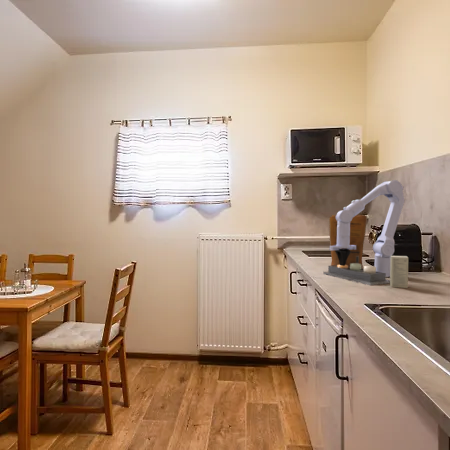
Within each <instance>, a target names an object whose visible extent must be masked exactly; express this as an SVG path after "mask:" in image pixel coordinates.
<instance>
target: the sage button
mask: <svg viewBox="0 0 450 450" xmlns="http://www.w3.org/2000/svg"><path fill="white" fill-rule="evenodd" d="M350 270H355V271H357V270H361V264H359V263H350Z"/></svg>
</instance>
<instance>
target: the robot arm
mask: <svg viewBox="0 0 450 450" xmlns="http://www.w3.org/2000/svg"><path fill="white" fill-rule="evenodd" d="M379 196H385V197H386V198H387V199H388V201H389V202H390V205H389V208H388V211H387V214H386V218H385V221H384V225H383V227H382V230H381V234H380V235H379V236H378V237H377V240H376V241H375V242H374V244H373V245H372V250H373V252H374V265H373V266H375V267H376V271H377V272H382V273H386V278H390V263H391V256H394V253H395V244H396V242H395V239H394V238H395V237H394V236H395V233H396V230H397V227H398V224H399V220H400V217H401V214H402V212H403V211H402V210H403V208H404V204H405V196H404V186H403V185H402V183H401V181H399V180H398V179H393V180H389V181H388V180H387V181H386V180H385V181H383V182H382V183H380V184H378V185H376V187H373V189H371V190H370V191H369V192H368V193H367V194H366V195H364V196H363V197H362V198H360V199H355V200H352V201H351V203H350V204H348V205H347V206H344V207H343V208H342V209H343V210H338V212H337V213H336V214H335V215H336V220H337V245H335V246H330V245H329V251H331V250H332V251H334V250H335V252H336V254H337V256H338V259H339V263H340V265H342V266H345V264H346V261H347V258H348V256H349V254H350V253H351V251H350V250H352V249H354V250H356V245H350V221H352V218H353V217H355V216H356V215H360V213H361V212H362V211H364V210H365V208H366V207H365V206H366V205H367V204H369V203H371V202H372V201H374V200H375V199H376V198H377V197H379ZM341 248H347V249H341Z"/></svg>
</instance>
